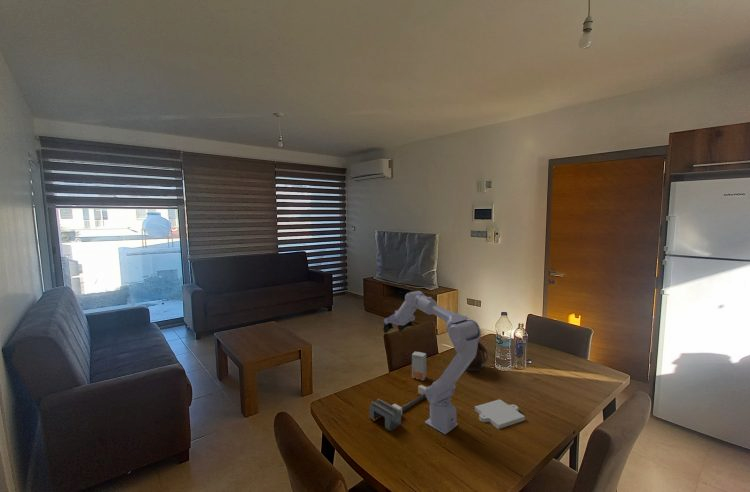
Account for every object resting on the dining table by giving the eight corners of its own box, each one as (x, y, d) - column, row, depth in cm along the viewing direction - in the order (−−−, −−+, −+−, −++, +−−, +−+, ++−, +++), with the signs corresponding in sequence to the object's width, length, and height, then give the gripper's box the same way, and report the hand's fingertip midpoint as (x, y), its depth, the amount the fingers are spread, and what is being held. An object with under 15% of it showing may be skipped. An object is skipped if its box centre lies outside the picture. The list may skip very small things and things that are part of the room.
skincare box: (411, 378, 159) (411, 354, 158) (414, 374, 163) (414, 351, 162) (423, 381, 157) (423, 356, 155) (426, 377, 160) (426, 353, 159)
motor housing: (401, 424, 124) (400, 408, 123) (389, 431, 120) (389, 415, 119) (380, 412, 132) (380, 397, 131) (369, 418, 128) (369, 403, 127)
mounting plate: (492, 431, 120) (492, 426, 120) (469, 412, 132) (469, 408, 132) (529, 419, 127) (529, 414, 127) (504, 402, 139) (504, 397, 139)
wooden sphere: (451, 365, 173) (451, 337, 172) (475, 360, 177) (476, 333, 176) (467, 378, 159) (467, 348, 157) (493, 373, 163) (494, 343, 162)
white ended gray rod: (435, 398, 141) (435, 391, 141) (396, 423, 125) (396, 415, 124) (421, 391, 147) (421, 384, 147) (382, 413, 130) (381, 406, 130)
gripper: (415, 303, 143) (401, 320, 151) (387, 305, 135) (374, 324, 144) (422, 316, 139) (408, 334, 147) (393, 320, 131) (380, 338, 139)
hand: (391, 330), depth 145 cm, fingers open, 7 cm apart
